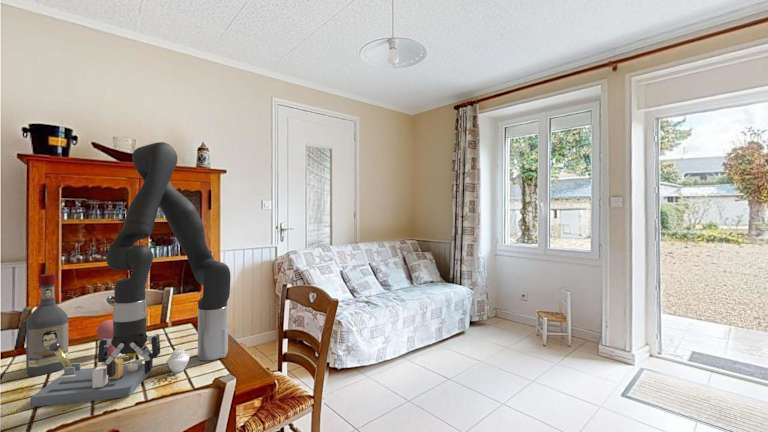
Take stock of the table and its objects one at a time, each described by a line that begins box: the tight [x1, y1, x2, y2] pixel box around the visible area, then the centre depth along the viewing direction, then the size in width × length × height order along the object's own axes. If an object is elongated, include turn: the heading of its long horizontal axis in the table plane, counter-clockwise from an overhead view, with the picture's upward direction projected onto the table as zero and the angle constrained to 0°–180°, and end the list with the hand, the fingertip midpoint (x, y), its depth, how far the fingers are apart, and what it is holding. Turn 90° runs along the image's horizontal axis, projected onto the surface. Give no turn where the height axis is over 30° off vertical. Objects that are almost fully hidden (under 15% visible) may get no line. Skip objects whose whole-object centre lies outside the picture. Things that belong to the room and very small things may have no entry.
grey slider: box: [92, 365, 108, 388], centre depth 97 cm, size 2×3×4 cm
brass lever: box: [49, 342, 73, 368], centre depth 104 cm, size 3×3×9 cm
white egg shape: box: [166, 348, 190, 374], centre depth 112 cm, size 6×6×7 cm
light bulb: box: [96, 319, 116, 355], centre depth 124 cm, size 7×7×12 cm
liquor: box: [25, 273, 69, 377], centre depth 112 cm, size 9×9×30 cm
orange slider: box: [109, 358, 124, 379], centre depth 101 cm, size 2×3×4 cm
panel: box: [30, 358, 153, 408], centre depth 101 cm, size 22×16×4 cm
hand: (129, 374), depth 98 cm, fingers open, 8 cm apart
